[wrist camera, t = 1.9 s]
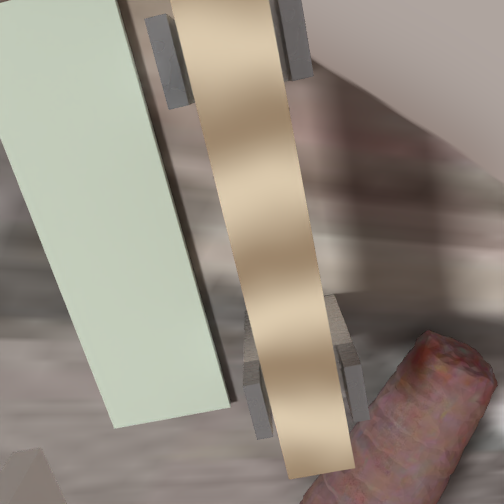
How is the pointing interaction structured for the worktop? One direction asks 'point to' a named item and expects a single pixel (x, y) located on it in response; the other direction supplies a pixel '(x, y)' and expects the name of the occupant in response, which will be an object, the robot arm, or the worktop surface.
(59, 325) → the worktop surface
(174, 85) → the post
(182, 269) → the mat
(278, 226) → the rail
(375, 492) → the food
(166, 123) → the worktop surface
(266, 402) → the post
